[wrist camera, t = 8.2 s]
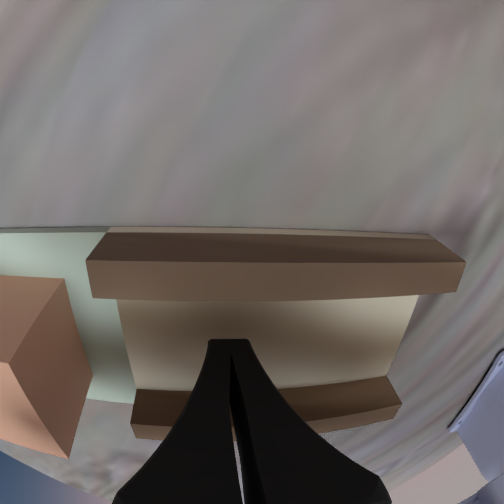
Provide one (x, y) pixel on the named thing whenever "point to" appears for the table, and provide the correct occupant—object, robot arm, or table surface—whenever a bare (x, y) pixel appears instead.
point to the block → (40, 365)
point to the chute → (239, 310)
